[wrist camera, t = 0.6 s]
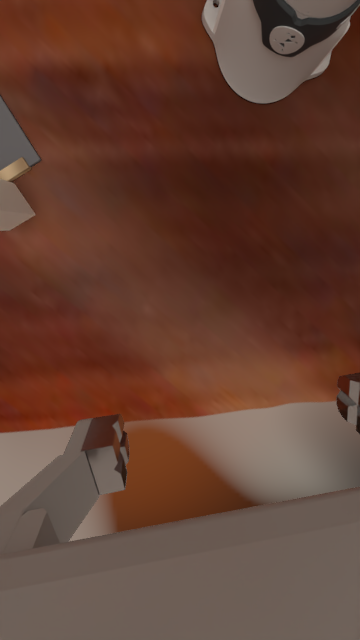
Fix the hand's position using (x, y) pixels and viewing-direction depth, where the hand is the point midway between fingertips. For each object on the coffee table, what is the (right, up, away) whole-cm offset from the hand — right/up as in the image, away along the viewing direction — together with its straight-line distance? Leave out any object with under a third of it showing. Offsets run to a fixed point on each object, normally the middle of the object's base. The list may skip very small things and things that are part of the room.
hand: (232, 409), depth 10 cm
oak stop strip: (-30, +24, +30) cm, 49 cm away
